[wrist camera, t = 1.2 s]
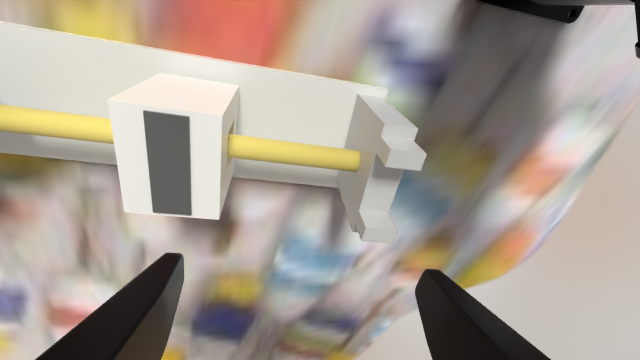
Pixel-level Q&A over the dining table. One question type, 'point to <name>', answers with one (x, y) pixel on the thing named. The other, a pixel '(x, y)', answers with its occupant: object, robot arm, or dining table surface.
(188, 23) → the dining table surface
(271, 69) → the cord rig
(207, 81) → the marker sleeve
